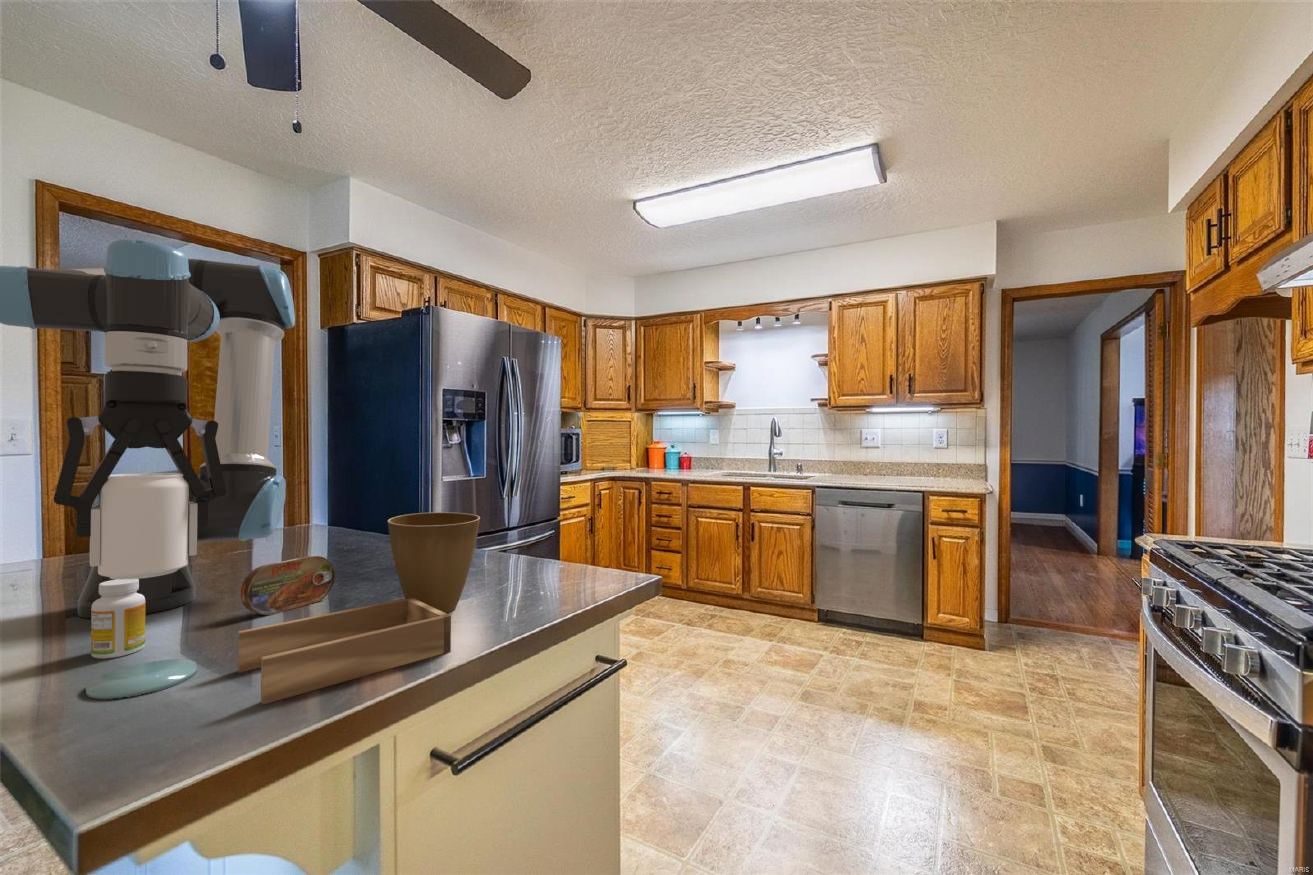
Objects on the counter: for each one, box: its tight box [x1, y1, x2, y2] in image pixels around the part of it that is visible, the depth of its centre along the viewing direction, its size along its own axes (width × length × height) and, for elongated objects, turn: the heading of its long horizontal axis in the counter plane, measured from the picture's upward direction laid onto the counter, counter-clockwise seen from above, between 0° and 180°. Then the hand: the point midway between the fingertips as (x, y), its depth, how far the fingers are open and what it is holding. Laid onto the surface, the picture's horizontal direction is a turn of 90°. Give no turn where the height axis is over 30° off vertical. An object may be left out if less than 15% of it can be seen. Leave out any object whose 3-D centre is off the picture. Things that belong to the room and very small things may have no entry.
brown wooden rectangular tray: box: [237, 597, 452, 705], centre depth 75 cm, size 13×22×5 cm, turn 137°
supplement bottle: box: [90, 579, 146, 660], centre depth 78 cm, size 5×5×10 cm
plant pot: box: [387, 511, 481, 614], centre depth 98 cm, size 15×15×16 cm
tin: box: [240, 555, 336, 616], centre depth 98 cm, size 15×3×8 cm, turn 155°
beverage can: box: [98, 472, 189, 580], centre depth 69 cm, size 8×8×12 cm
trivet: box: [85, 658, 198, 700], centre depth 69 cm, size 10×10×1 cm
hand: (145, 558), depth 69 cm, fingers closed on beverage can, 8 cm apart
